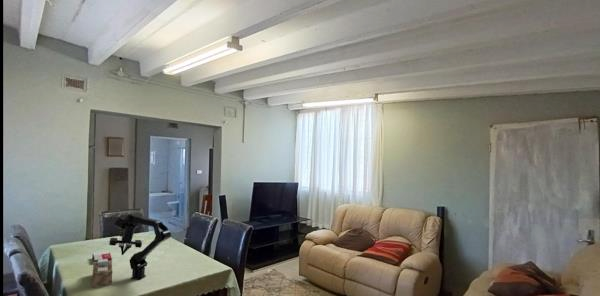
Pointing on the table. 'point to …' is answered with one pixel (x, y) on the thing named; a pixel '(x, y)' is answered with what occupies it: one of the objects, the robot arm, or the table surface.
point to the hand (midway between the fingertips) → (122, 254)
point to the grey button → (103, 262)
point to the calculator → (101, 256)
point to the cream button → (103, 269)
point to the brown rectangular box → (102, 275)
